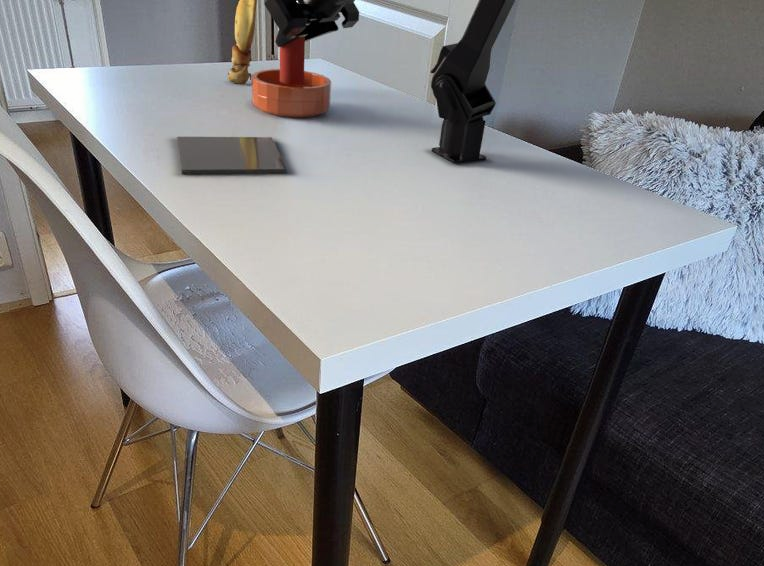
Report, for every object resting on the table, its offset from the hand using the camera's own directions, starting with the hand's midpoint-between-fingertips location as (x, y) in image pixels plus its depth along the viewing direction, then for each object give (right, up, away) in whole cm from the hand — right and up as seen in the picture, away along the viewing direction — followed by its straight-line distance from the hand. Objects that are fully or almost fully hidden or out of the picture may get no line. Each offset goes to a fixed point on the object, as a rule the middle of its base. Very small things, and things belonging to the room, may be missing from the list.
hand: (286, 43), depth 113 cm
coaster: (-5, -25, -18) cm, 31 cm away
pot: (0, -9, +5) cm, 10 cm away
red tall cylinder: (+1, -5, +3) cm, 6 cm away
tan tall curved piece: (-11, -1, +16) cm, 19 cm away
